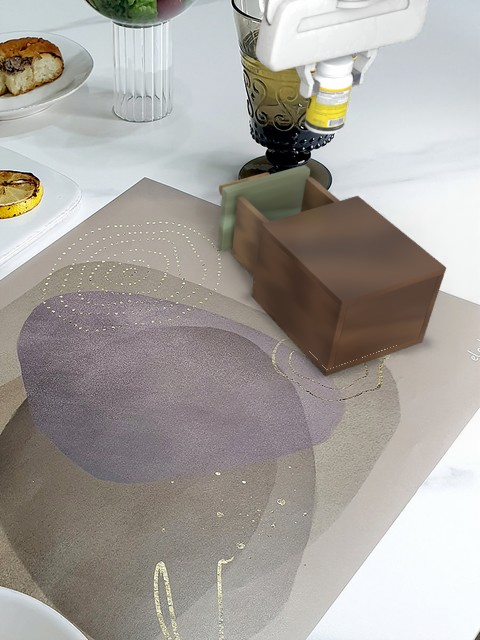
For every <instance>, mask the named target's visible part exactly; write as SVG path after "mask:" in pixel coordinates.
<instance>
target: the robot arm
mask: <svg viewBox="0 0 480 640" xmlns="http://www.w3.org/2000/svg"><path fill="white" fill-rule="evenodd" d="M429 5H430V0H264V9H263V15H262V18H261V22H260V25H259V31H258V35H257V39H256V40H257V41H256V46H255V57H256V58H257V59H258V61H259V62H260V63H261V64H262V66H264V67H265V68H267V69H269V70H270V71H271V72H274V73H276V72H277V73H278V72H281V71H282V72H283V71H285V70H290V69H294V68H295V70H296V73H297V75H298V77H299V79H300V84H299V95H300V96H302V97H303V98H304V99H308V98H310V97H314V96H317V95H318V93H319V91H318V89H319V87H320V82H319V81H318V80H315V78H313V77H312V75H313V74H312V73H311V72H315V71H316V65H317V62H320V61H324V60H329V59H333V58H337V57H341V56H346V55H353V54H357V56H356V57H355V59H354V61H353V67H352V72H351V74H352V76H353V83H352V88H355V87H358V86H363V83H364V79H365V73H366V72H367V71H368V70H369V68H370V66H371V65H372V63H373V62H374V61H375V60H376V58H377V57H378V52H379V49H380V48H384V47H388V46H393V45H397V44H401V43H405V42H406V43H407V42H409V41H414V40H415V39H416V38H417V37H418V35H419V34H420V33H421V31H422V30H423V28H424V26H425V22H426V18H427V14H428V11H429Z"/></svg>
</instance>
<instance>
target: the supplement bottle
mask: <svg viewBox="0 0 480 640" xmlns="http://www.w3.org/2000/svg"><path fill="white" fill-rule="evenodd" d="M354 61H355V59H354V57H353V56H352V54H350V55H346V56H341V57H337V58H333V59H329V60H324V61H320V62H316V67H315V70H314V71H313V74H311V75H312V77H313V78H315V80H318V81H319V82H320V87H319V89H318V91H319V93H318V95H317V96H314V97H310V98H307V99H308V100H307V106H306V112H305V119H304V125H305V128H306V129H307V130H308V131H310V132H312V133H314V134H319V135H334V134H337V133H340V132H341V131H343V129H344V128H345V123H346V120H347V119H346V118H347V114H348V108H349V103H350V97H351V92H352V88H353V87H352V83H353V76H352V74H351V72H352V67H353V63H354Z"/></svg>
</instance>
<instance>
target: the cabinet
mask: <svg viewBox="0 0 480 640" xmlns="http://www.w3.org/2000/svg"><path fill="white" fill-rule="evenodd" d="M446 270H447V266H445V264H443V263H441V261H439V260H438V259H437V258H436V257H434V256H433V255H432V254H431V253H429V252H428V251H427V250H426V249H424V248H423V247H422V246H421V245H419V244H418V243H417V242H416V241H415V240H413V239H412V238H411V237H409V236H408V235H407V234H406V233H405V232H404V231H402V230H401V229H400V228H398V227H397V226H396V225H394V223H392V222H391V221H390V220H388V218H386V217H385V216H383V214H381V213H380V212H379V211H377V210H376V209H375V208H374V207H373V206H371V205H370V204H369V203H367V201H366V200H364V199H362V198H361V197H360V196H359V195H355V196H351V197H348V198H345V199H341V200H340V201H338V202H334V203H331V204H327V205H324V206H321V207H317V208H314V209H310V210H307V211H304V212H300V213H297V214H293V215H290V216H287V217H283V218H280V219H276V220H273V221H269V222H266V223H263V224H261V231H260V238H259V246H258V254H257V261H256V269H255V277H253V285H252V293H251V297H252V299H253V300H254V301H255V302H256V303H257V304H258V305H259V306H260V307H261V309H263V311H264V312H265V313H266V314H267V315H268V316H269V317H270V318H271V319H272V320H273V321H274V323H275V324H277V325H278V327H279V328H280V329H281V330H282V331H283V332H284V334H286V336H287V337H288V338H289V339H290V340H291V341H292V342H293V343H294V344H295V345H296V346H297V347H298V349H299V350H300V351H301V352H302V353H303V354H304V355H305V356H306V357H307V359H309V361H310V362H311V363H312V364H313V365H314V366H315V367H316V368H317V369H318V370H319V371H320V372H321V373H322V374H323V376H324V377H328V376H330V375H334V374H335V373H338V372H342V371H345V370H347V369H350V368H353V367H356V366H359V365H362V364H365V363H367V362H371V361H373V360H376V359H378V358H382V357H384V356H387V355H390V354H392V353H396V352H398V351H401V350H405V349H407V348H410V347H412V346H415V345H418V344H422V343H423V341H424V337H425V334H426V331H427V329H428V325H429V323H430V321H431V320H430V319H431V316H432V313H433V310H434V307H435V304H436V301H437V299H438V295H439V292H440V289H441V285H442V282H443V279H444V276H445V274H446V272H447V271H446ZM396 345H397V346H396ZM393 346H394V347H393ZM390 347H391V348H390ZM387 348H388V349H387ZM384 349H386V350H384ZM381 350H383V351H381ZM309 351H310V352H311V353H312V354H313V355H314V356H315V357H316V358H317V359H318V360H317V359H316V358H315V357H314V356H313V355H312V354H311V353H310V352H309ZM378 351H380V352H378ZM376 352H377V353H376ZM373 353H374V354H373ZM370 354H371V355H370ZM367 355H368V356H367ZM364 356H366V357H364ZM362 357H363V358H362ZM356 359H357V360H356ZM353 360H354V361H353ZM350 361H351V362H350ZM347 362H348V363H347ZM344 363H346V364H344ZM341 364H343V365H341ZM322 365H323V366H324V367H325V368H326V369H328V370H326V369H325V368H324V367H323V366H322ZM339 365H340V366H339ZM336 366H337V367H336ZM333 367H334V368H333ZM330 368H331V369H330Z"/></svg>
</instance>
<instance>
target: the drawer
mask: <svg viewBox="0 0 480 640" xmlns="http://www.w3.org/2000/svg"><path fill="white" fill-rule="evenodd" d="M310 175H311V168H310V167H308V166H307V165H306V164H303V165H300V166H296V167H293V168H289V169H285V170H282V171H278V172H275V173H274V172H273V173H271V174H270V172H268V171H266V172H264V173H260V174H255V175H252V176H248V177H245V178H241V179H237V180H233V181H230V182H226V183H222V184H220V185H219V187H218V192H219V195H220V196H221V200H220V211H219V221H218V232H217V233H218V234H217V244H216V245H217V246H216V248H218V250H219V251H220V252H225V251H228V250H231V255H232V256H233V257H234V258H235V259H236V260H237V262H239V263H240V264H241V265H242V266H243V268H244V269H245V270H246V271H247V272H248V273H249V274H250V275H251V276H252V277H253V278H254V277H255V269H256V261H257V254H258V246H259V238H260V231H261V224H263V223H266V222H269V221H273V220H276V219H280V218H283V217H287V216H290V215H293V214H297V213H300V212H304V211H307V210H310V209H314V208H317V207H321V206H324V205H327V204H331V203H334V202H338V201H341V200H340V199H339V198H338V197H336V196H335V195H334V194H333V193H331V192H330V191H329V190H328V189H327V188H326V187H324V186H323V185H322V184H321V183H320V182H319V181H317V180H316V179H315V178H314V177H312V176H310Z"/></svg>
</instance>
